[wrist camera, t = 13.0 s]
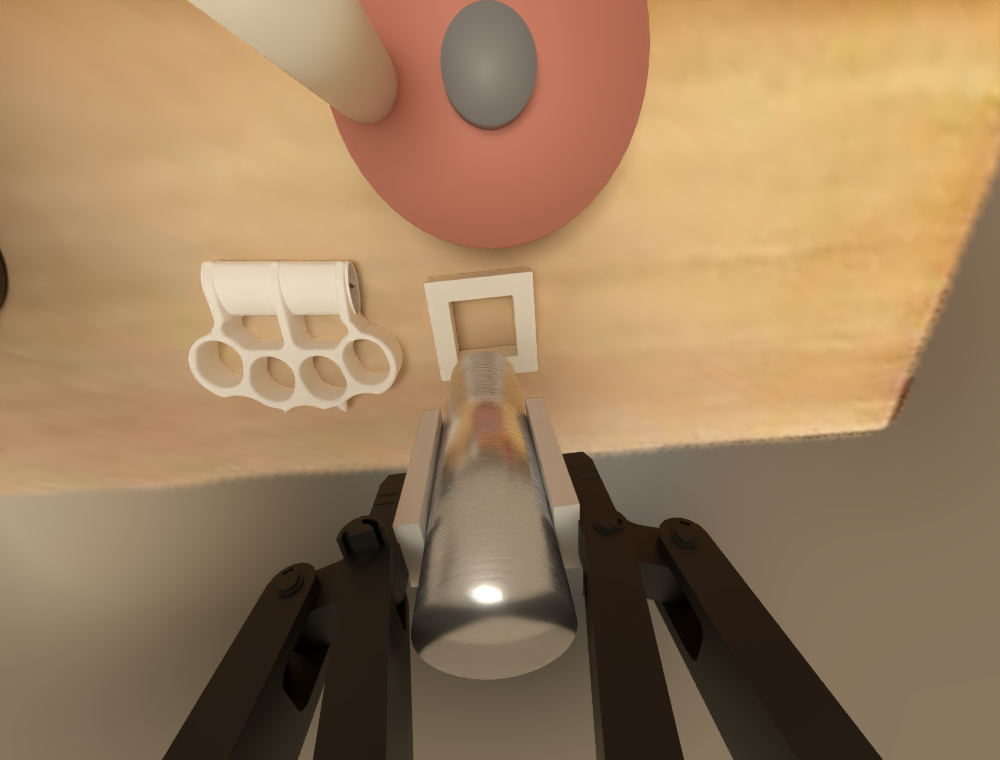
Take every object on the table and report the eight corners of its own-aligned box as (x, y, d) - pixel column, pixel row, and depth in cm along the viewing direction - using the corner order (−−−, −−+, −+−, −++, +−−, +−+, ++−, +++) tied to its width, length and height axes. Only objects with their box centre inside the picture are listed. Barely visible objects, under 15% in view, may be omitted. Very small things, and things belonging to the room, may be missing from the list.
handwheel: (618, 240, 26) (756, 266, 13) (367, 251, 25) (252, 290, 12) (656, -142, 18) (1086, -1006, 5) (293, -139, 17) (-214, -1106, 5)
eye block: (444, 368, 36) (441, 381, 33) (428, 277, 32) (423, 283, 29) (533, 359, 36) (538, 371, 33) (527, 266, 32) (532, 271, 29)
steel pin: (455, 414, 22) (428, 687, 9) (445, 355, 20) (394, 590, 8) (519, 407, 22) (577, 668, 9) (514, 347, 20) (576, 568, 8)
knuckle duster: (392, 259, 31) (409, 403, 38) (180, 258, 30) (233, 407, 37) (383, 263, 28) (403, 420, 35) (147, 263, 27) (211, 424, 34)
